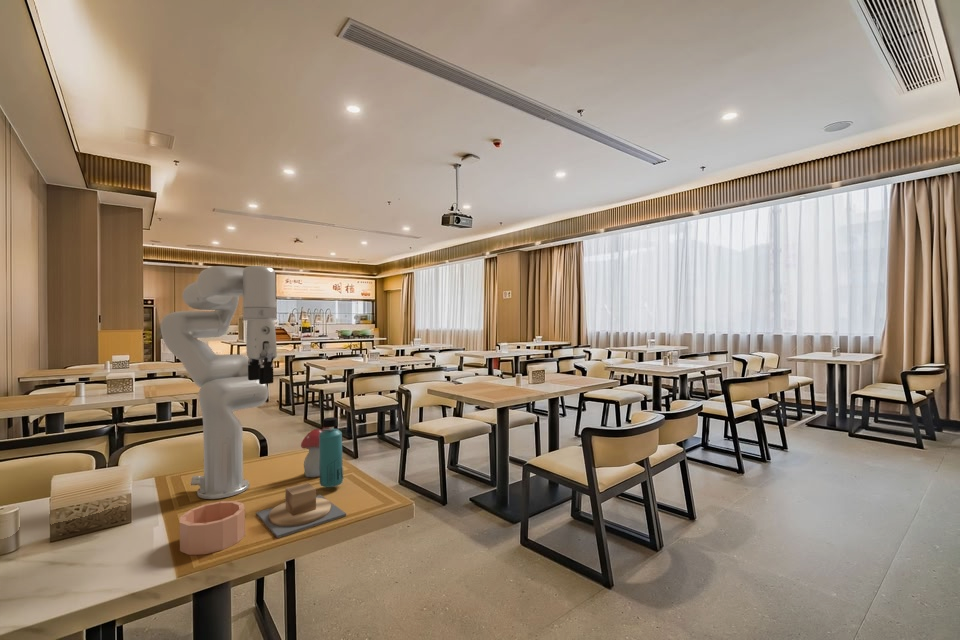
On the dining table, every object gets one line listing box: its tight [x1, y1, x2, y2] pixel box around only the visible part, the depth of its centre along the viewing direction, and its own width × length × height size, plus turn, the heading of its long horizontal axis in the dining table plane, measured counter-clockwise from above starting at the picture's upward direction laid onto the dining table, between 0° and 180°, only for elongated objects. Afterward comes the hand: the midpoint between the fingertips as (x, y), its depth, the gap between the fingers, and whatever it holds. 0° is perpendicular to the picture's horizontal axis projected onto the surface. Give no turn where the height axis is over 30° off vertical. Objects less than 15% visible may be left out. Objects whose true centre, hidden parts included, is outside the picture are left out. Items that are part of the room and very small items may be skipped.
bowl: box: [179, 500, 246, 556], centre depth 96 cm, size 12×12×6 cm
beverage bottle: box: [318, 417, 344, 488], centre depth 125 cm, size 6×7×20 cm
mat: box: [256, 494, 347, 539], centre depth 108 cm, size 16×16×1 cm
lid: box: [269, 482, 332, 526], centre depth 108 cm, size 14×14×6 cm
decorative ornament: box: [300, 426, 331, 478], centre depth 136 cm, size 9×7×15 cm
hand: (260, 381), depth 112 cm, fingers open, 9 cm apart
